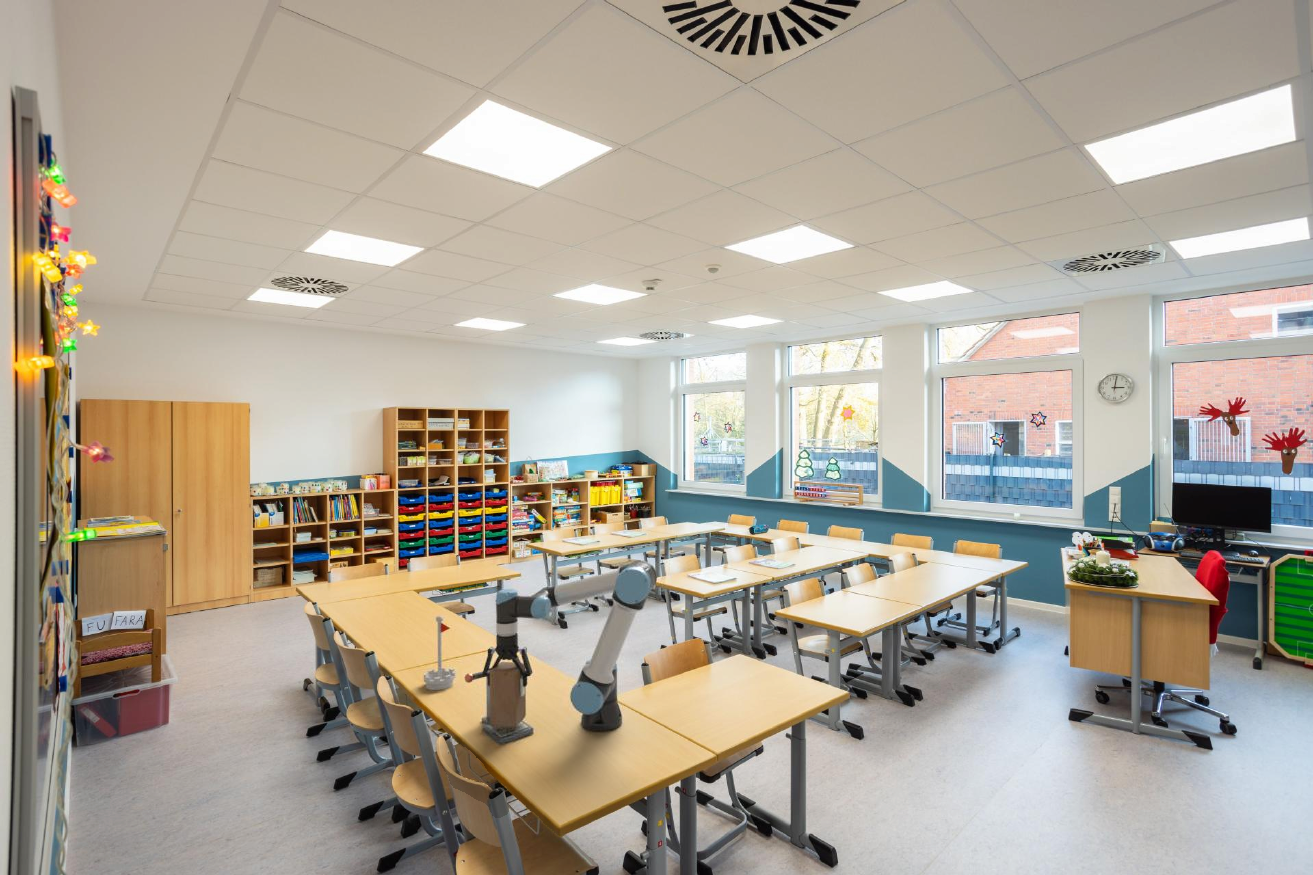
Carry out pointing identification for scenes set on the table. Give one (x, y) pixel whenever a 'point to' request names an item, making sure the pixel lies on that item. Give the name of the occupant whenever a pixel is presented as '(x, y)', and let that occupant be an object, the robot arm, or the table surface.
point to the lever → (473, 676)
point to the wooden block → (506, 696)
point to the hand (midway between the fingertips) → (507, 694)
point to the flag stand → (439, 666)
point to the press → (503, 733)
